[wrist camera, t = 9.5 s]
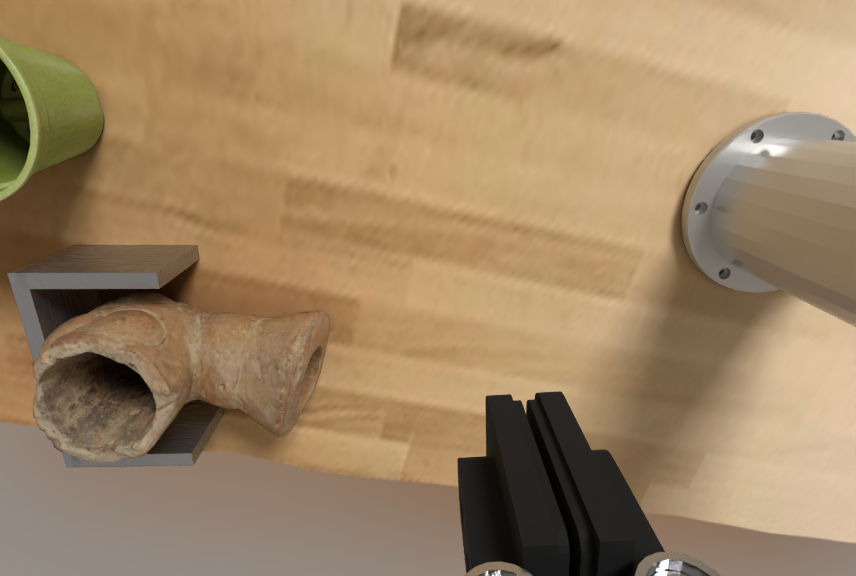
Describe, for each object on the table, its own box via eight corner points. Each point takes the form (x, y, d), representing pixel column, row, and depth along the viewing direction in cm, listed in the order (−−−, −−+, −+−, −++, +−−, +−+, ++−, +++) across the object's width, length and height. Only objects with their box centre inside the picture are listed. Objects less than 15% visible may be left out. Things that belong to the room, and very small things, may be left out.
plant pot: (94, 210, 33) (-6, 244, 25) (-48, 122, 31) (-209, 128, 23) (158, 92, 31) (69, 88, 23) (8, -12, 29) (-149, -59, 21)
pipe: (327, 394, 39) (302, 485, 30) (116, 376, 38) (21, 465, 29) (334, 289, 36) (308, 354, 27) (104, 266, 35) (-7, 325, 25)
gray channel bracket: (197, 245, 34) (156, 272, 29) (224, 413, 39) (193, 465, 34) (73, 245, 34) (7, 273, 28) (115, 415, 39) (66, 467, 33)
